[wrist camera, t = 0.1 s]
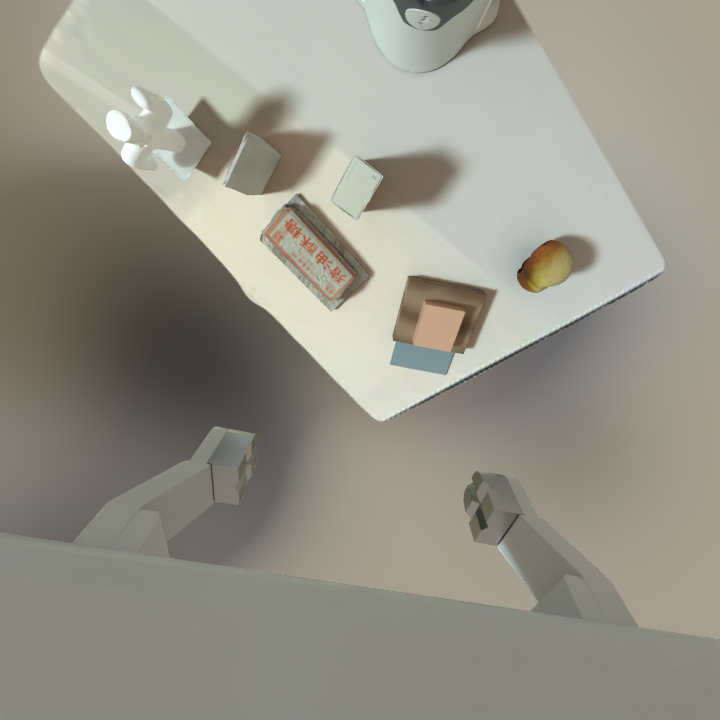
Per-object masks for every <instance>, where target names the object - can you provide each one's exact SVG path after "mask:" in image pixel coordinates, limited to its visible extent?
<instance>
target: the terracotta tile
mask: <svg viewBox="0 0 720 720" xmlns="http://www.w3.org/2000/svg"><path fill="white" fill-rule="evenodd" d="M464 315H465V311H464V309H463V308H462V307H458V306H453V305H448V304H443V303H438V302H433V301H428V300H424V302H423V305H422V309H421V312H420V315H419V319H418V322H417V325H416V329H415V332H414V336H413V339H412V340H413V344H414V345H415V346H420V347H426V348H431V349H436V350H442V351H447V352H451V349H452V347H453V344H454V341H455V339H456V336H457V333H458V331H459V328H460V325H461V323H462V320H463V317H464Z"/></svg>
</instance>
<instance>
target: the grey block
mask: <svg viewBox="0 0 720 720" xmlns="http://www.w3.org/2000/svg"><path fill="white" fill-rule="evenodd" d="M281 156H282V155H281V154H280V153H278V152H277V151H276V150H275V149H274V148H273V147H271V146H270V145H269V144H268V143H267V142H265V141H264V140H263V139H262V138H260V137H258V136H256V135H254V134H252V133H250V132H248V131H246V133H245V135H244V137H243V140H242V142H241V144H240V146H239V148H238V151H237V153H236V155H235V157H234V159H233V161H232V164H231V166H230V168H229V170H228V172H227V175H226V177H225V181H224V183H223V184H225V183H226V185H225V187H229V188H231V189H234V190H236V191H239V192H241V193H244V194H246V195H261V194H262V192H263V191H264V189H265V187H266V185H267V183H268V181H269V179H270V177H271V175H272V173H273V171H274V170H275V168H276V166H277V164H278V162H279V160H280V158H281Z"/></svg>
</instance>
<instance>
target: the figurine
mask: <svg viewBox="0 0 720 720" xmlns="http://www.w3.org/2000/svg"><path fill="white" fill-rule="evenodd" d="M131 94H132V97H133V99H134V100H135V101H136V102H137V104H138V105H140V106H141V107H142V108H144V109H143V111H142V113H141V114H140V115H139V116H137V117H132V116H131V115H128V114H126V113H123V112H121V111H118V110H112V111H110V112H109V113H108V114H107V117H106V124H107V128H108V130H109V132H110V133H111V135H112V136H113V137H114V138H116V139H118V140H121V141H124V142H126V143H125V145H124V147H123V149H122V151H121V156H122V159H123V160H124V161H125V162H126V163H127V164H128V165H130V166H131V167H134V168H137V169H144V170H157V168H158V164H157V162H156V160H155V159H154V158H153V157H152V156H151V155H150V154H151V152H152V151H153V152H154V153H155V154H157V155H158V156H159V157H160V158H161V159H162V160H163V161H164V162H165V163H166V164H167V165H168V166H169V167H170V168H171V169H172V170H173V171H174V172H175V173H176V174H177V175H178V176H179V177H180V178H181V179H182V180H183V181H184V182H186V181H187V179H188V178H189V176H190V175H191V173H192V172H193V170H194V169H195V167H196V166H197V164H198V163H199V161H200V160H201V158H202V156H203V155H204V153H205V152H206V150H207V149H208V147H209V146H210V144H211V143H212V142H211V141H210V140H209V139H208V138H207V137H206V136H205V135H204V134H203V133H202V132H201V131H200V130H199V129H198V128H197V127H196V126H195V124H194V123H193V122H192V121H191V120H190V119H189V118H188V117H187V116H186V115H185V114H184V113H183V112H182V111H181V110H180V109H179V108H178V107H177V106H176V105H175V104H174V102H173V101H172V100H171V99H170V98H169V97H168V96H166V97H165V99H163V98H162V97H160V96H158V95H156V94H154V93H152V92H150V91H147V90H145V89H143V88H140V87H137V86H135V87H133V88H132V89H131Z"/></svg>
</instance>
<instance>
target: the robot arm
mask: <svg viewBox="0 0 720 720" xmlns="http://www.w3.org/2000/svg"><path fill="white" fill-rule="evenodd" d="M358 2H359V3H360V4H361V6H362V7H363V8H364V10H365V12H366V15H367V18H368V21H369V25H370V28H371V31H372V34H373V37H374V39H375V41H376V43H377V45H378V47H379V49H380V50H381V52H382V53H383V54H384V56H385V57H386V58H387V59H388V60H389V61H390V62H391V63H393V64H394V65H395V66H397V67H399V68H401V69H403V70H405V71H409V72H415V73H422V72H428V71H432V70H434V69H437V68H439V67H441V66H442V65H444V64H445V63H447V62H448V61H449V60H451V59H452V58H453V57H454V56H455V55H456V54H457V53H458V52H459V50H460V49H461V48H462V47H463V46H464V44H465V43H466V42H467V41H468V40H469V39H470V38H471V37H472V36H473V35H475V34H477V33H478V32H480V31H482V30H484V29H485V28H487V27H488V26H489V25H491V24H492V23H493V21H494V20H495V18H496V16H497V13H498V10H499V5H500V0H358ZM257 442H258V435H257V434H252V433H247V432H242V431H237V430H232V429H225V428H220V427H214V428H213V429H212V430H211V431H210V432H209V434H208V435H207V437H206V438H205V440H204V441H203V442H202V444H201V445H200V447H199V448H198V450H197V451H196V452H195V454H194V455H193V457H192V458H191V460H190V461H183V462H181V463H180V464H178V465H176V466H174V467H172V468H171V469H168V470H167V471H165V472H163V473H161V474H159V475H157V476H155V477H154V478H152V479H150V480H148V481H146V482H144V483H143V484H141V485H139V486H137V487H135V488H133V489H131V490H130V491H128V492H126V493H124V494H122V495H120V496H119V497H117V498H115V499H113V500H111V501H109V502H108V503H107V504H106V505H105V506H104V507H103V508H102V509H101V510H100V512H99V513H98V514H97V515H96V516H95V517H94V519H93V520H92V521H91V522H90V523H89V524H88V526H87V527H86V528H85V529H84V530H83V531H82V532H81V533H80V535H79V536H78V537H77V538H76V539H75V540H74V541H73V543H72V544H71V543H65V542H57V541H51V540H44V539H38V538H31V537H23V536H17V535H10V534H4V533H0V720H720V639H715V638H708V637H701V636H695V635H688V634H681V633H674V632H667V631H661V630H654V629H647V628H640V627H638V625H637V624H636V622H635V620H634V619H633V617H632V615H631V613H630V612H629V610H628V609H627V607H626V606H625V604H624V602H623V600H622V599H621V597H620V595H619V594H618V592H617V590H616V589H615V587H614V585H613V584H612V582H611V581H610V580H609V579H608V578H607V577H606V576H605V575H604V574H603V573H602V572H601V571H600V570H598V568H596V567H595V566H594V565H593V564H592V563H591V562H590V561H589V560H588V559H587V558H585V557H584V556H583V555H582V554H581V553H580V552H579V551H578V550H576V548H575V547H573V546H572V545H571V544H570V543H569V542H568V541H567V540H566V539H565V538H564V537H562V536H561V535H560V534H559V533H558V532H557V531H556V530H555V529H554V528H553V527H552V526H550V525H549V524H548V523H547V522H546V521H545V520H544V519H542V518H539V517H538V515H537V513H536V511H535V509H534V507H533V505H532V503H531V501H530V500H529V497H528V496H527V494H526V492H525V490H524V488H523V486H522V484H521V482H520V480H519V479H518V478H517V477H511V476H505V475H499V474H493V473H486V472H480V471H476V472H475V473H474V474H473V476H472V480H473V483H471V484H470V485H468V486H467V488H466V490H465V492H464V507H465V511H466V513H467V514H468V515H469V516H470V517H471V520H470V522H469V525H470V529H471V532H472V536H473V539H474V542H479V543H484V544H490V545H496V546H498V547H497V548H498V549H499V550H500V552H501V553H502V554H503V556H504V557H505V558H506V560H507V561H508V562H509V564H510V565H511V566H512V567H513V569H514V570H515V572H516V573H517V574H518V576H519V577H520V578H521V579H522V581H523V582H524V584H525V585H526V586H527V588H528V589H529V590H530V591H531V593H532V594H533V595H534V597H535V598H536V600H537V601H538V603H537V605H536V606H535V607H534V608H533V609H532V610H531V611H525V610H518V609H511V608H505V607H498V606H490V605H484V604H477V603H471V602H464V601H457V600H451V599H444V598H437V597H430V596H423V595H417V594H410V593H403V592H396V591H390V590H383V589H376V588H369V587H362V586H355V585H349V584H342V583H335V582H327V581H321V580H314V579H308V578H301V577H294V576H287V575H281V574H273V573H266V572H260V571H253V570H247V569H240V568H233V567H226V566H220V565H213V564H206V563H199V562H193V561H186V560H178V559H172V558H170V557H169V553H168V548H167V544H166V542H167V541H168V540H169V539H170V538H172V537H173V536H174V535H175V534H177V533H178V532H179V531H180V530H181V529H183V528H184V527H185V526H186V525H188V524H189V523H190V522H191V521H192V520H194V519H195V518H196V517H197V516H198V515H200V514H201V513H202V512H203V511H205V510H206V509H207V508H208V507H209V506H211V505H212V504H213V503H214V501H215V502H222V503H230V504H238V505H239V504H240V501H241V499H242V497H243V495H244V493H245V490H246V488H247V484H246V483H247V480H248V479H249V478H251V477H252V474H253V472H254V469H255V466H256V462H257V456H258V455H257V454H258V452H257V450H256V448H255V447H256V445H257Z"/></svg>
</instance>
